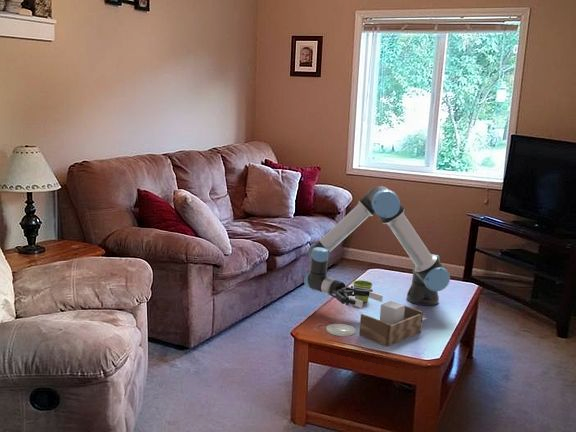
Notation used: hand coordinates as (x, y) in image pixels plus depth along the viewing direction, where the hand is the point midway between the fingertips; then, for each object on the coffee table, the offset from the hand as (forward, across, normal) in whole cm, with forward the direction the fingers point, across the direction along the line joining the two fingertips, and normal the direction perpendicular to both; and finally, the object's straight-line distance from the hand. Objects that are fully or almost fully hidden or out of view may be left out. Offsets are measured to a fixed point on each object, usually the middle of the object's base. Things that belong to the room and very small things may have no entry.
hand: (372, 301), depth 255 cm
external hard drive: (+5, -22, -12) cm, 26 cm away
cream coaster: (-5, +14, -11) cm, 18 cm away
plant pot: (-23, -24, -11) cm, 35 cm away
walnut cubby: (+10, 0, -11) cm, 15 cm away
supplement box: (+10, 0, -11) cm, 15 cm away
